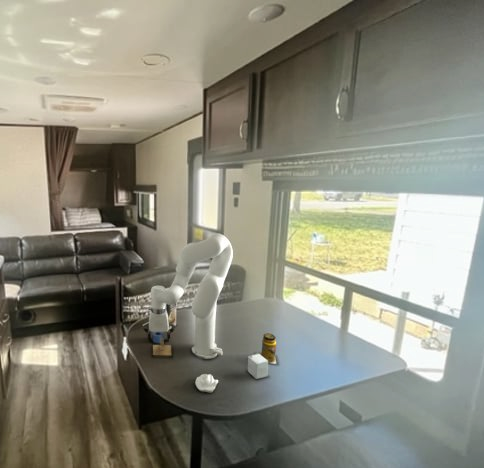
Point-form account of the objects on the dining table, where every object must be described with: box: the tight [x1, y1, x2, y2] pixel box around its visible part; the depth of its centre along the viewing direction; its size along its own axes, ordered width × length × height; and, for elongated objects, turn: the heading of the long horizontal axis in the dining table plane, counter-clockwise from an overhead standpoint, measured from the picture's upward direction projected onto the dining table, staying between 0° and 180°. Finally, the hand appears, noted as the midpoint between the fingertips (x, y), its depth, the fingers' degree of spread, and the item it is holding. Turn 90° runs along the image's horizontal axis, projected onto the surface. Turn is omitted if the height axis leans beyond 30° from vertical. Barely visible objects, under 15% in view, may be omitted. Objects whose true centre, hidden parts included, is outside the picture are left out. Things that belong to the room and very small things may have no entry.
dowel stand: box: [152, 337, 172, 356], centre depth 148 cm, size 9×9×7 cm
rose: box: [194, 373, 219, 393], centre depth 124 cm, size 10×4×10 cm
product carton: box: [247, 353, 269, 380], centre depth 131 cm, size 6×6×7 cm
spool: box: [152, 332, 164, 344], centre depth 158 cm, size 6×6×5 cm
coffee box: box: [166, 303, 177, 329], centre depth 174 cm, size 9×6×16 cm
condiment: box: [255, 332, 277, 365], centre depth 141 cm, size 7×8×12 cm
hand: (158, 340), depth 158 cm, fingers open, 9 cm apart
